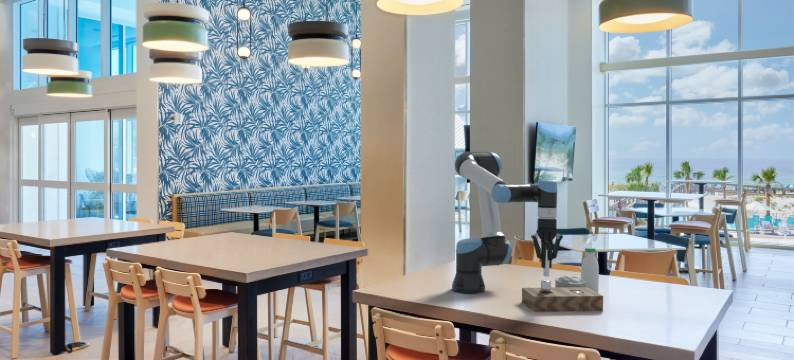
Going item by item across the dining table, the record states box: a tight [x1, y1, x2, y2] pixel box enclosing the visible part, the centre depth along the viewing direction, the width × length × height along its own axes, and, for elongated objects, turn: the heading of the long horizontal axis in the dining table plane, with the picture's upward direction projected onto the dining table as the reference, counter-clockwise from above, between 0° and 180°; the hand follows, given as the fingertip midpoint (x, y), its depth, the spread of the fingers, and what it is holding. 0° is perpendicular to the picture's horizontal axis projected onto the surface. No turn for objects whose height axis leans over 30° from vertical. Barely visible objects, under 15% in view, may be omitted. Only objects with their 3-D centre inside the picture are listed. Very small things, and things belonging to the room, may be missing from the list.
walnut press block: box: [521, 287, 604, 313], centre depth 234 cm, size 28×16×6 cm, turn 94°
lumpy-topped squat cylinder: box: [554, 275, 587, 288], centre depth 251 cm, size 10×13×9 cm
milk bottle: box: [580, 247, 600, 293], centre depth 261 cm, size 8×8×20 cm
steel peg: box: [540, 279, 552, 293], centre depth 233 cm, size 4×4×6 cm
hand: (546, 275), depth 233 cm, fingers closed
